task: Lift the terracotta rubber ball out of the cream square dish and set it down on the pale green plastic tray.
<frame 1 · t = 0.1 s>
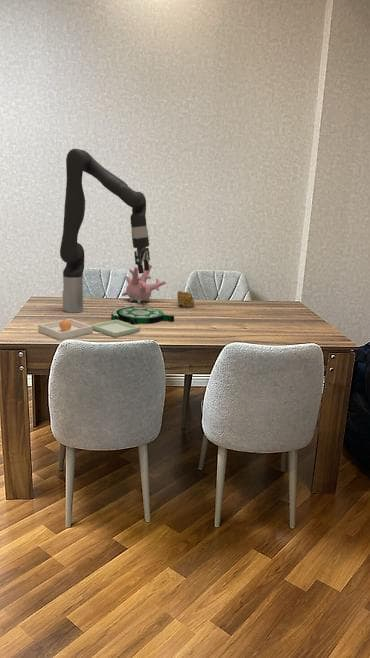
hand: (144, 271, 228), 22 cm above the table, tool pointing down, fingers open, 8 cm apart
toy: (140, 302, 267), on the table
cream square dish: (65, 332, 206), on the table
rock: (185, 305, 264), on the table
emblem: (143, 319, 233), on the table
tray: (115, 330, 212), on the table
ball: (65, 325, 205), point 3 cm above the table, touching cream square dish
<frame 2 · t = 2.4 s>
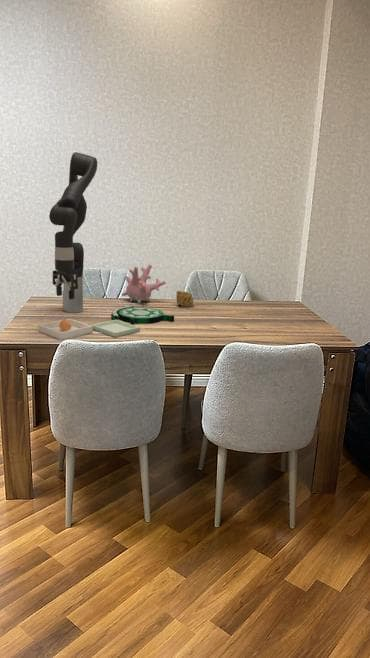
hand: (65, 297, 202), 15 cm above the table, tool pointing down, fingers open, 8 cm apart
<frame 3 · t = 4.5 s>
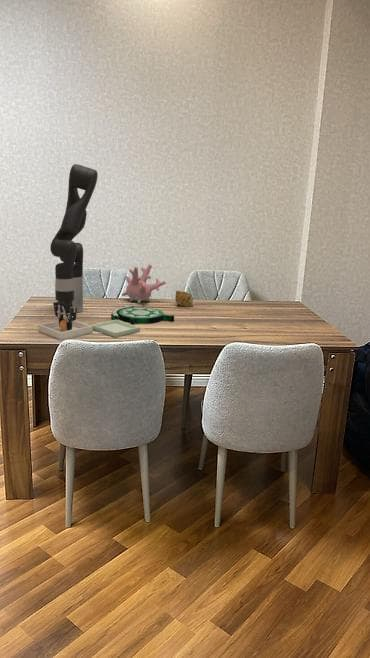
hand: (65, 328, 206), 2 cm above the table, tool pointing down, fingers closed on ball, 5 cm apart
ball: (65, 325, 205), point 3 cm above the table, touching cream square dish, gripper
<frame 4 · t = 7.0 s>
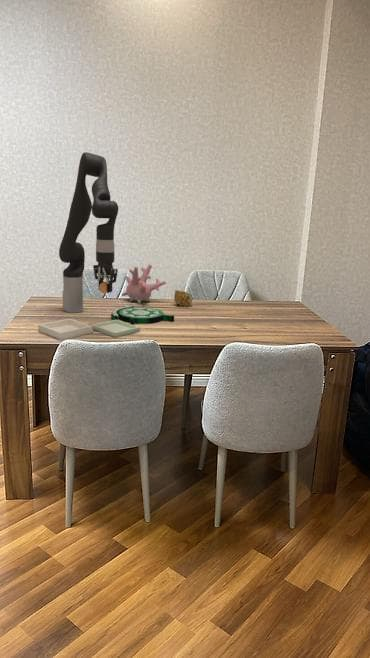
hand: (105, 290, 206), 18 cm above the table, tool pointing down, fingers closed on ball, 5 cm apart
ball: (105, 287, 205), point 19 cm above the table, touching gripper
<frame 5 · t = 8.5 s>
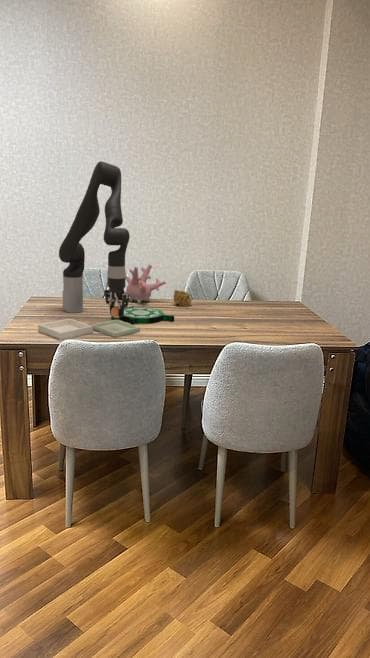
hand: (116, 315, 210), 7 cm above the table, tool pointing down, fingers closed on ball, 5 cm apart
ball: (116, 312, 210), point 8 cm above the table, touching gripper
when the fingers open (3 cm above the table, at t = 9.8 s): ball drops 1 cm, resting on tray.
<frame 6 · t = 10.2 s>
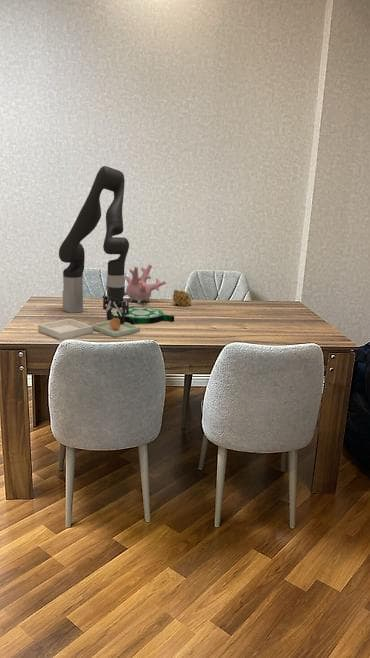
hand: (115, 322, 211), 4 cm above the table, tool pointing down, fingers open, 8 cm apart
ball: (115, 323, 211), point 3 cm above the table, touching tray
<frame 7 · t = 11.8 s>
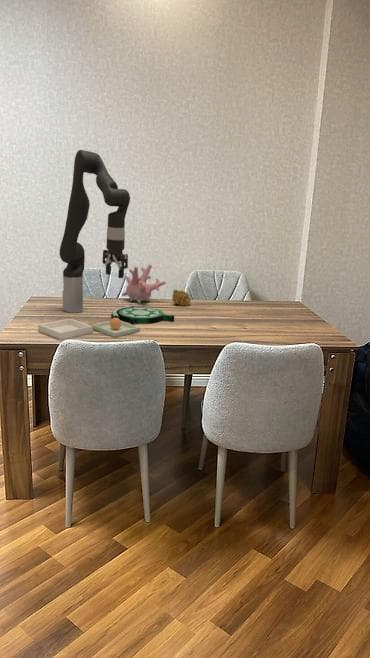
hand: (114, 276, 210), 23 cm above the table, tool pointing down, fingers open, 8 cm apart
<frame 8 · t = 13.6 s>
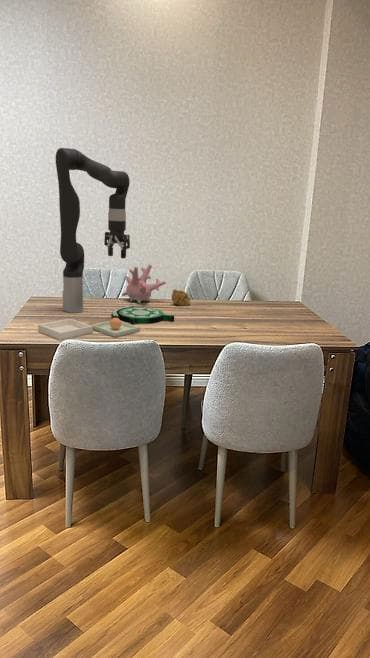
hand: (116, 257, 215), 30 cm above the table, tool pointing down, fingers open, 8 cm apart
at the end: ball inside the target area on the tray (0.0 cm from its centre), point 3.1 cm above the tray's base; ball point 3.1 cm above the table; the gripper is holding nothing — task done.
